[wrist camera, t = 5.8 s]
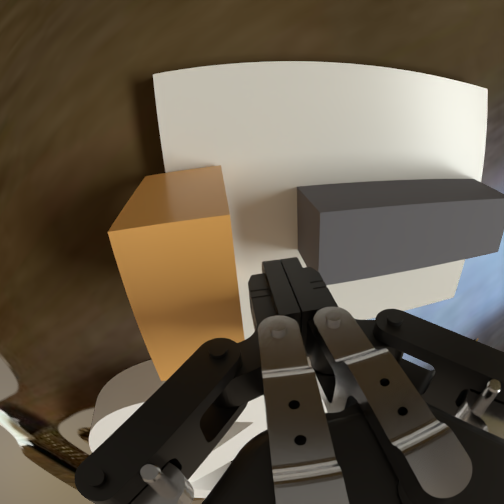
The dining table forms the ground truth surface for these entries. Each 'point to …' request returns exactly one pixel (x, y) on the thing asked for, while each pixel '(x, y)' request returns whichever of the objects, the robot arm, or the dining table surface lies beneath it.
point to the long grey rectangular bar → (395, 225)
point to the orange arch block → (179, 264)
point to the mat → (320, 153)
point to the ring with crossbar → (143, 387)
